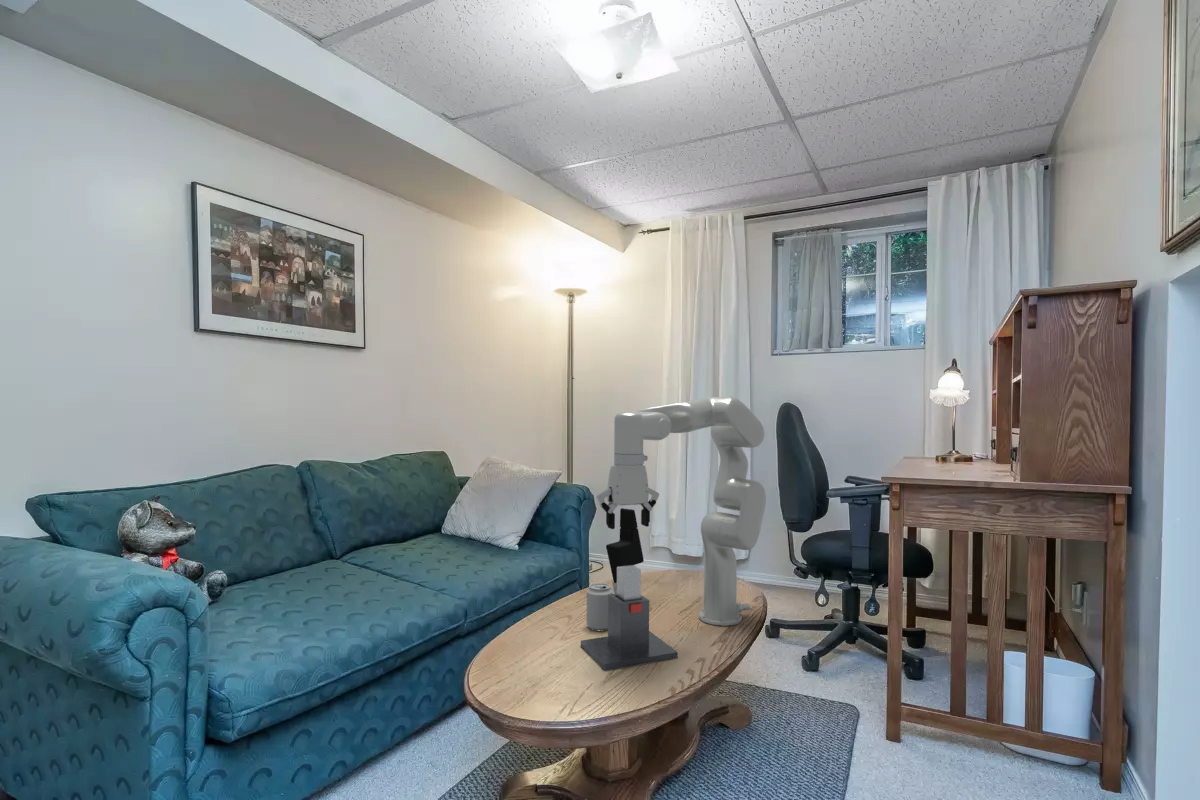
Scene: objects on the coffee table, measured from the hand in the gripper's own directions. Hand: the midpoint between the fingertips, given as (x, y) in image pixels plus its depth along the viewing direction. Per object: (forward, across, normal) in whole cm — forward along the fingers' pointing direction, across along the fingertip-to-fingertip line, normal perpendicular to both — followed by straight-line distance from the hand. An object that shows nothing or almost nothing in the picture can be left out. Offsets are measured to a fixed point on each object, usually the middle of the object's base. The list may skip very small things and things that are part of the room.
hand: (628, 526), depth 157 cm
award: (+32, -16, -36) cm, 51 cm away
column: (+30, 0, 0) cm, 30 cm away
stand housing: (+32, 0, 0) cm, 32 cm away
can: (+32, 0, -19) cm, 37 cm away
